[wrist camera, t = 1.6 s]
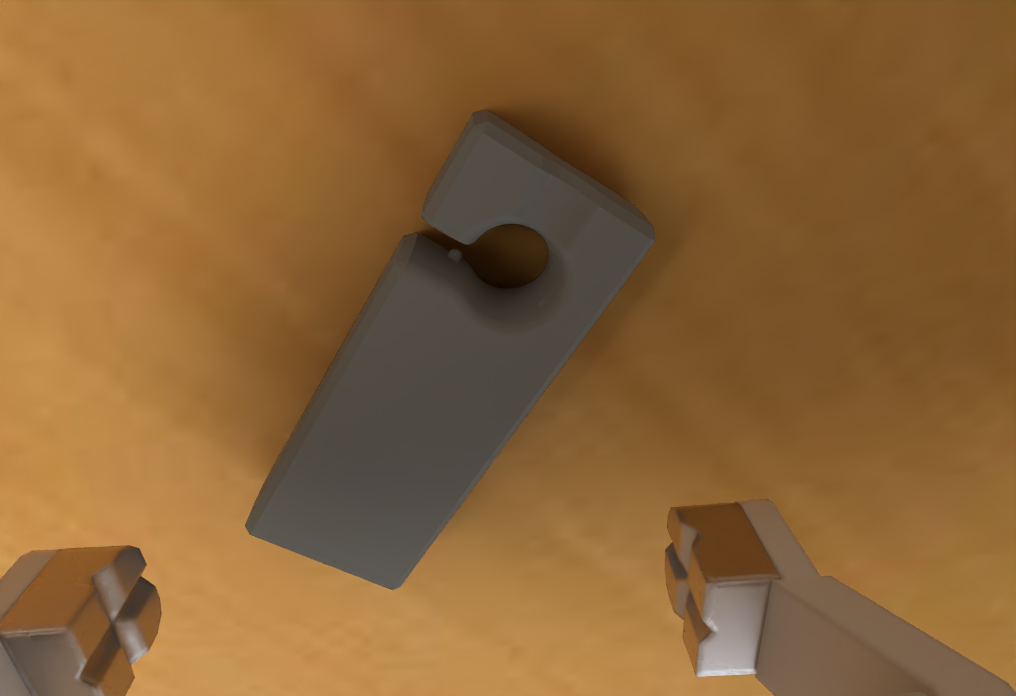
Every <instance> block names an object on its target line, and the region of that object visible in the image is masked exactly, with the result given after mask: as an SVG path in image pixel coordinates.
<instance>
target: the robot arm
mask: <svg viewBox="0 0 1016 696" xmlns="http://www.w3.org/2000/svg"><path fill="white" fill-rule="evenodd" d="M667 529H668V532H669V534H670V537H671V540H672V543H671V544H670V545H669V546H668V547H667V549H666V550H665V575H666V585H667V589H668V594H669V598H670V601H671V604H672V607H673V610H674V613H676V614H677V615H678V616H679V617H681V618H682V619H683V620H684V626H683V640H684V643H685V646H686V649H687V651H688V654H689V657H690V660H691V663H692V666H693V669H694V671H695V674H696V677H698V676H720V675H741V674H756V675H755V677H756V678H757V679H758V680H759V681H760V682H761V683H762V684H763V685H764V686H765V687H766V688H767V689H768V690H769V691H770V692H772V693H773V694H774V695H775V696H1016V692H1015V691H1014V690H1013V688H1012V687H1011V686H1010V685H1009V683H1007V682H1006V681H1004V680H1002V679H1001V678H999V677H997V676H996V675H994V674H992V673H991V672H989V671H988V670H986V669H984V668H983V667H981V666H979V665H978V664H976V663H974V662H973V661H971V660H969V659H968V658H966V657H964V656H963V655H961V654H959V653H958V652H956V651H954V650H953V649H951V648H949V647H948V646H946V645H944V644H943V643H941V642H939V641H938V640H936V639H934V638H933V637H931V636H929V635H928V634H926V633H925V632H923V631H921V630H920V629H918V628H916V627H915V626H913V625H911V624H910V623H908V622H906V621H905V620H903V619H901V618H900V617H898V616H896V615H895V614H893V613H891V612H890V611H888V610H886V609H885V608H883V607H881V606H880V605H878V604H876V603H875V602H873V601H871V600H870V599H868V598H867V597H865V596H863V595H862V594H860V593H858V592H857V591H855V590H853V589H852V588H850V587H848V586H847V585H845V584H843V583H842V582H840V581H838V580H837V579H835V578H833V577H832V576H820V575H819V573H818V572H817V570H816V568H815V567H814V565H813V564H812V562H811V561H810V559H809V557H808V556H807V554H806V553H805V551H804V550H803V548H802V547H801V545H800V543H799V542H798V540H797V539H796V537H795V536H794V534H793V533H792V531H791V529H790V528H789V526H788V525H787V523H786V522H785V520H784V518H783V517H782V515H781V514H780V512H779V511H778V509H777V508H776V506H775V504H774V503H773V502H772V501H770V500H769V499H758V500H747V501H736V502H735V503H719V504H706V505H693V506H680V507H670V510H669V513H668V521H667ZM146 565H147V564H146V562H145V560H144V558H143V556H142V553H141V551H140V549H139V548H137V547H133V546H130V545H129V546H108V547H87V548H66V549H59V550H37V551H31V552H29V553H27V554H25V555H22V556H21V557H20V558H19V559H18V560H17V561H16V562H15V563H14V565H13V566H12V567H11V568H10V569H9V570H8V571H7V573H6V574H5V575H4V576H3V577H2V578H1V579H0V696H125V695H126V693H127V691H128V689H129V687H130V686H131V684H132V682H133V680H134V678H135V677H134V673H133V670H132V666H131V665H132V664H133V663H134V662H136V661H137V660H138V659H139V658H141V657H142V656H143V655H144V654H146V653H147V652H148V651H149V650H150V648H151V646H152V644H153V642H154V640H155V638H156V636H157V634H158V628H159V623H160V618H161V604H160V597H159V595H158V592H157V589H156V587H155V586H154V585H153V584H151V583H150V582H149V581H147V580H146V579H144V578H143V577H141V575H142V573H143V571H144V569H145V567H146Z"/></svg>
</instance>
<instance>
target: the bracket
mask: <svg viewBox="0 0 1016 696" xmlns="http://www.w3.org/2000/svg"><path fill="white" fill-rule="evenodd" d="M422 218H423V219H424V220H425V221H426V222H427V223H428V224H429V225H431V226H432V227H434V228H436V229H438V230H439V231H441V232H443V233H445V234H446V235H448V236H450V237H452V238H453V239H455V240H457V241H459V242H461V243H463V244H472V243H474V242H475V241H476V240H477V239H478V238H479V237H480V236H481V235H482V234H483V233H485V232H486V231H487V230H489V229H491V228H493V227H496V226H499V225H504V224H520V225H524V226H527V227H530V228H532V229H534V230H535V231H537V232H538V233H539V234H540V235H541V236H542V237H543V238H544V240H545V241H546V244H547V246H548V251H549V255H548V261H547V264H546V266H545V268H544V270H543V271H542V273H541V274H540V275H539V276H538V277H537V278H536V279H534V280H533V281H531V282H530V283H528V284H526V285H523V286H520V287H516V288H498V287H494V286H491V285H489V284H487V283H485V282H483V281H482V280H481V279H480V278H478V276H477V275H476V274H475V273H474V271H473V270H472V268H471V267H470V265H469V264H468V263H467V262H466V261H465V260H464V259H462V258H461V257H462V254H461V252H460V250H458V249H452V250H451V251H449V250H447V249H445V248H444V247H442V246H440V245H438V244H437V243H435V242H433V241H431V240H429V239H428V238H426V237H424V236H422V235H421V234H419V233H417V232H416V233H413V234H409V235H406V236H403V238H402V240H401V242H400V243H399V245H398V247H397V249H396V250H395V252H394V254H393V256H392V257H391V259H390V261H389V263H388V264H387V266H386V268H385V270H384V272H383V273H382V275H381V277H380V279H379V280H378V282H377V284H376V286H375V287H374V289H373V291H372V293H371V295H370V296H369V298H368V300H367V302H366V303H365V305H364V307H363V309H362V310H361V312H360V314H359V316H358V317H357V319H356V321H355V323H354V325H353V326H352V328H351V330H350V332H349V333H348V335H347V337H346V339H345V340H344V342H343V344H342V346H341V348H340V349H339V351H338V353H337V355H336V356H335V358H334V360H333V362H332V363H331V365H330V367H329V369H328V370H327V372H326V374H325V376H324V378H323V379H322V381H321V383H320V385H319V386H318V388H317V390H316V392H315V393H314V395H313V397H312V399H311V401H310V402H309V404H308V406H307V408H306V409H305V411H304V413H303V415H302V416H301V418H300V420H299V422H298V423H297V425H296V427H295V429H294V431H293V432H292V434H291V436H290V438H289V439H288V441H287V443H286V445H285V446H284V448H283V450H282V452H281V454H280V455H279V457H278V459H277V461H276V462H275V464H274V466H273V468H272V469H271V471H270V473H269V475H268V476H267V478H266V480H265V482H264V484H263V486H262V488H261V490H260V492H259V494H258V497H257V499H256V501H255V503H254V505H253V508H252V510H251V512H250V515H249V517H248V520H247V522H246V524H245V527H246V529H247V531H248V532H249V534H250V535H252V536H255V537H257V538H260V539H262V540H265V541H268V542H270V543H273V544H275V545H278V546H280V547H283V548H285V549H288V550H291V551H293V552H296V553H298V554H301V555H303V556H306V557H309V558H311V559H314V560H316V561H319V562H321V563H324V564H326V565H329V566H332V567H334V568H337V569H339V570H342V571H344V572H347V573H350V574H352V575H355V576H357V577H360V578H362V579H365V580H368V581H370V582H373V583H375V584H378V585H380V586H383V587H385V588H388V589H391V590H394V589H396V588H399V587H400V586H401V585H402V584H403V582H404V581H405V580H406V578H407V577H408V576H409V574H410V573H411V571H412V570H413V569H414V567H415V566H416V565H417V563H418V562H419V561H420V559H421V558H422V557H423V555H424V554H425V553H426V551H427V550H428V548H429V547H430V546H431V544H432V543H433V542H434V540H435V539H436V538H437V536H438V535H439V534H440V532H441V531H442V529H443V528H444V527H445V525H446V524H447V523H448V521H449V520H450V519H451V517H452V516H453V515H454V513H455V512H456V511H457V509H458V508H459V506H460V505H461V504H462V502H463V501H464V500H465V498H466V497H467V496H468V494H469V493H470V492H471V490H472V489H473V487H474V486H475V485H476V483H477V482H478V481H479V479H480V478H481V477H482V475H483V474H484V473H485V471H486V470H487V469H488V467H489V466H490V464H491V463H492V462H493V460H494V459H495V458H496V456H497V455H498V454H499V452H500V451H501V450H502V448H503V447H504V445H505V444H506V443H507V441H508V440H509V439H510V437H511V436H512V435H513V433H514V432H515V431H516V429H517V428H518V427H519V425H520V424H521V422H522V421H523V420H524V418H525V417H526V416H527V414H528V413H529V412H530V410H531V409H532V408H533V406H534V405H535V403H536V402H537V401H538V399H539V398H540V397H541V395H542V394H543V393H544V391H545V390H546V389H547V387H548V386H549V385H550V383H551V382H552V380H553V379H554V378H555V376H556V375H557V374H558V372H559V371H560V370H561V368H562V367H563V366H564V364H565V363H566V361H567V360H568V359H569V357H570V356H571V355H572V353H573V352H574V351H575V349H576V348H577V347H578V345H579V344H580V343H581V341H582V340H583V338H584V337H585V336H586V334H587V333H588V332H589V330H590V329H591V328H592V326H593V325H594V324H595V322H596V321H597V319H598V318H599V317H600V315H601V314H602V313H603V311H604V310H605V309H606V307H607V306H608V305H609V303H610V302H611V301H612V299H613V298H614V296H615V295H616V294H617V292H618V291H619V290H620V288H621V287H622V286H623V284H624V283H625V282H626V280H627V279H628V277H629V276H630V275H631V273H632V272H633V271H634V269H635V268H636V267H637V265H638V264H639V263H640V261H641V260H642V259H643V257H644V256H645V254H646V253H647V252H648V250H649V249H650V248H651V246H652V245H653V244H654V242H655V233H654V227H653V226H652V225H651V223H650V222H649V221H648V219H647V218H646V217H645V215H644V214H643V213H642V212H641V211H640V210H639V209H638V208H637V207H636V206H635V205H634V204H632V203H631V202H629V201H628V200H626V199H625V198H623V197H621V196H620V195H618V194H617V193H615V192H614V191H612V190H611V189H609V188H608V187H606V186H604V185H603V184H601V183H600V182H598V181H597V180H595V179H594V178H592V177H590V176H589V175H587V174H585V173H583V172H582V171H580V170H578V169H577V168H575V167H573V166H572V165H570V164H569V163H567V162H565V161H564V160H562V159H561V158H559V157H558V156H556V155H555V154H553V153H552V152H550V151H549V150H548V149H546V148H545V147H543V146H542V145H540V144H539V143H538V142H536V141H535V140H533V139H532V138H530V137H529V136H527V135H526V134H524V133H523V132H521V131H519V130H518V129H516V128H515V127H513V126H512V125H510V124H509V123H507V122H506V121H504V120H502V119H501V118H499V117H498V116H496V115H495V114H493V113H492V112H490V111H489V110H483V111H479V112H475V113H473V114H472V116H471V118H470V120H469V121H468V123H467V125H466V127H465V129H464V130H463V132H462V134H461V136H460V137H459V139H458V141H457V143H456V144H455V146H454V148H453V150H452V152H451V153H450V155H449V157H448V159H447V160H446V162H445V164H444V166H443V167H442V169H441V171H440V173H439V174H438V176H437V178H436V180H435V182H434V183H433V185H432V187H431V189H430V190H429V192H428V194H427V197H426V199H425V202H424V206H423V212H422Z"/></svg>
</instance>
